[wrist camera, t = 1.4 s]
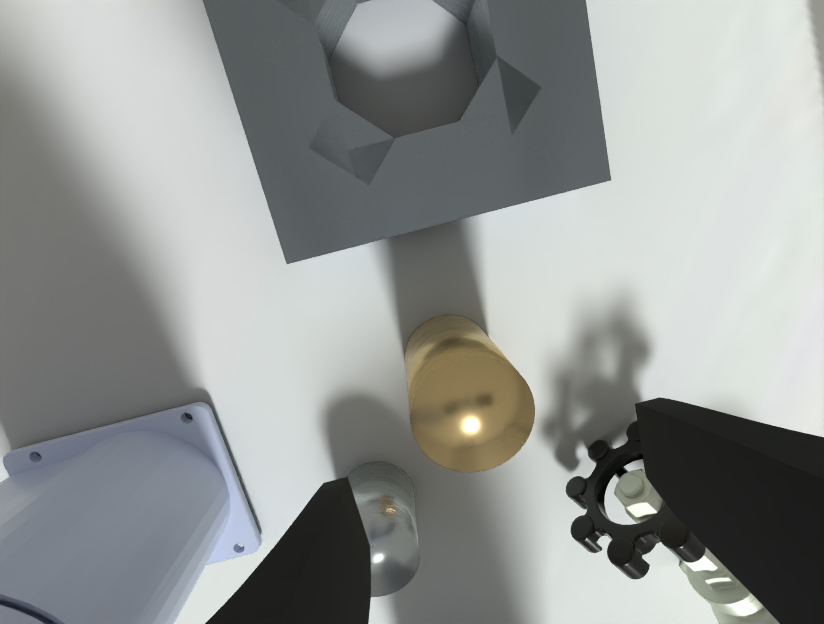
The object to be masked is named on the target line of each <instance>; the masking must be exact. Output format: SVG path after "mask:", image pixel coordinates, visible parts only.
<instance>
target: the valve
mask: <svg viewBox="0 0 824 624" xmlns="http://www.w3.org/2000/svg"><path fill="white" fill-rule="evenodd" d="M626 434H627V437H628V441H627V442H626V443H625V444H624V445H622V446H620V447H618V448H616V449H614V448H613V447H612V446H611V445H610V444H608V443H607V442H606V441H605V440H597V441H595V442H594V443H593V444H592V445H591V446H590V447H589V449H588V456H589V458H590V459H591V460H592V461H594V462H595V463H596V467H595V469H594V471H593V472H592V474H591V475H590V476H589V477H588V478H583V477H581V476H576V477H573V478H572V479H571V480H570V481H569V482H568V483H567V486H566V494H567V495H568V497H570V498H571V499H572V500H573V501H574V502H575V503H576V504H577V505H579V506H580V507H581V508H583V509H587V512H586V514H585V515H582V516H579V517H577V518H576V519H575V520H574V521H573V523H572V525H571V535H572V537H573V538H574V539H575V540H576V541H577V542H578V543H579V544H581V545H582V546H583V547H584V548H585V549H586V550H588V551H589V552H591V553H597V552H599V551H601V550H602V547H601V546H600V545H599V544H598V543H597V541H598V539H599V538H600V537H601V536H604V535H606V536H608V537H609V538H610V539H612V541H611V542H610V543H609V545H608V549H607V555H608V558H609V560H610V562H611V563H612V564H613V565H615V566H616V567H617V568H618V569H619V570H620V571H622V572H623V573H624V574H625V575H626V576H627V577H629V578H631V579H640V578H642V577H644V576H645V575H646V573H647V572H648V570H649V566H650V565H649V564H648V563H647V562H646V561H645V560H644V559H642V555H644V554H647V553H649V552H650V551H651V550H652V549H653V548H654V547H655V545H656V543H659V542H662V544H663V545H664V546H666V547H667V548H668V549H669V550H670V551H671V552H672V553H673V554H674V555H676V556H677V557H678V558H679V559H680V560H682V561H681V563H680V568H681V569H682V571H683V572H684V573H685V574H686V575H687V577H688V580H689V582H690V584H691V585H692V587H693V588H694V590H695V591H696V592H697V593H698V594H699V595H700V596H702V597H703V598H704V599H705V600H706V601H707V602H708V603H709V604H711V607H712V610H713V613H714V615H715V617H716V619H717V621H718V622H719V624H780V623H779V622H778V621H777V620H776V619H775V618H774V617H773V616H772V615H771V614H770V613H769V611H768V610H767V609H766V608H765V607H764V606H763V605H762V604H761V603H760V602H759V601H758V600H757V599H756V598H755V597H754V596H753V595H752V594H751V593H750V592H749V591H748V590H747V589H746V588H745V587H744V586H743V585H742V584H741V583H740V581H739V580H738V579H737V578H736V577H735V576H734V575H733V574H732V573H731V572H730V571H729V570H728V569H727V568H726V567H725V566H724V565H723V564H722V563H721V562H720V561H719V560H718V559H717V558H716V557H715V556H714V555H713V554H712V553H711V552H710V551H709V550H708V549H707V548H706V547H705V546H704V545H703V544H702V543H701V542H700V541H699V540H698V539H697V538H696V536H695V535H694V534H693V533H692V532H691V531H690V530H689V529H688V528H687V527H686V526H685V525H684V524H683V523H682V522H681V521H680V520H679V519H678V518H677V517H676V516H675V514H674V513H673V512H672V511H671V509H670V508H669V507H668V506H667V504H666V503H665V502H664V501H663V499H662V498H661V497H660V495H659V494H658V493H657V491H656V490H655V489H654V487H653V486H652V485H651V483H650V482H649V481H648V479H647V478H646V474H645V472H644V471H643V470H642V469H639V470H634V471H630V472H629V471H628V470H626V469H625V468H624V466H625V465H627V464H629V463H631V462H633V461H636V460H640V459H643V454H642V447H641V440H640V433H639V427H638V420H637V421H634V422H633V423H631V424H630V425H629V427H628V428H627V431H626ZM614 475H615V476H617V477H618V478H619V481H618V483H617V485H616V488H615V492H614V494H615V496H616V497H617V498H618V499H619V501H620V502H621V503H622V504H623V505H624V507H625V510H626V512H627V514H628V515H629V516H630V517H631V518H632V519H633V520H634V521H635V522H636V523H638V524H633V525H621V524H617V523H614V522H612V521H610V519H609V518H608V516H607V514H606V511H605V506H604V496H605V491H606V488H607V486H608V483H609V482H610V480H611V479H612V477H613V476H614Z"/></svg>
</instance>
